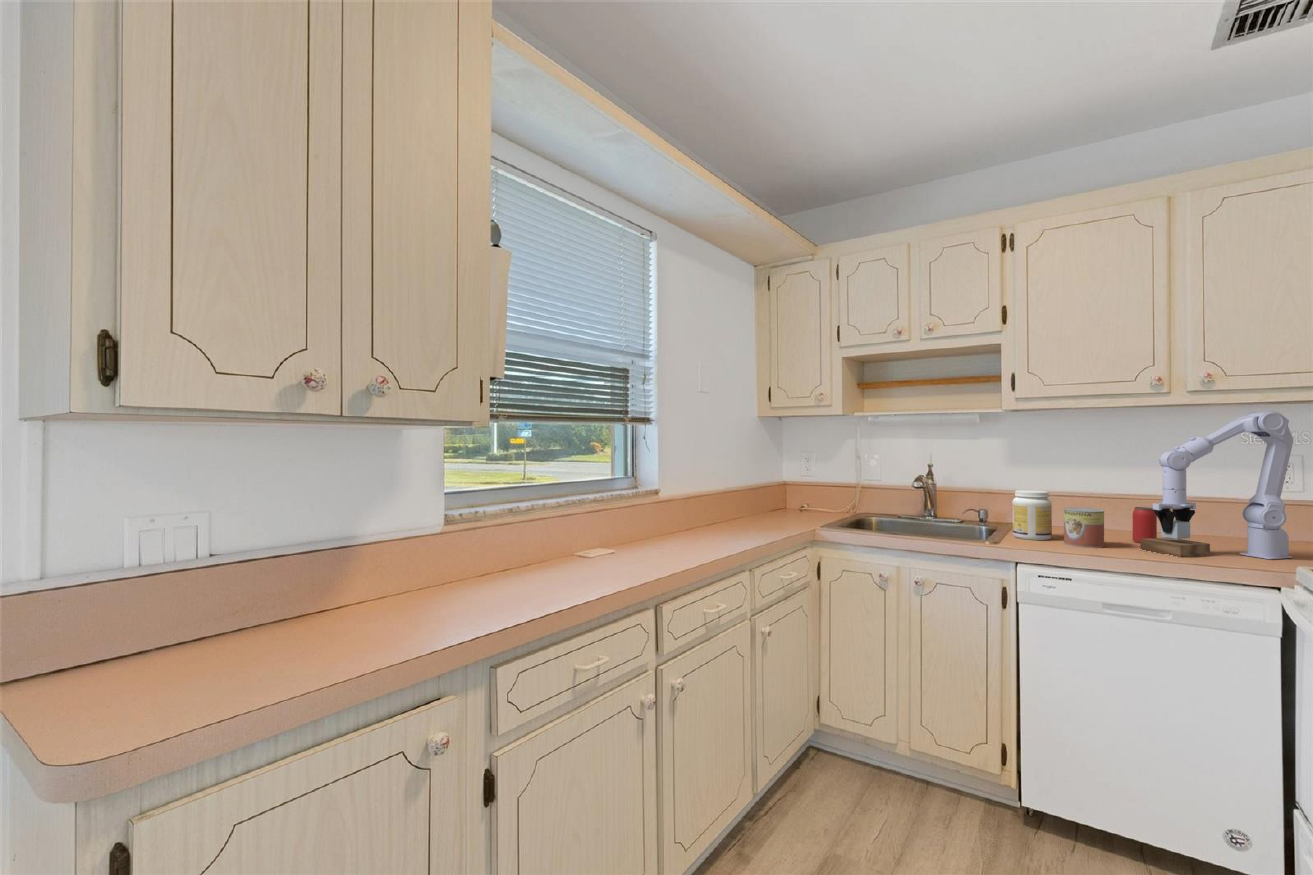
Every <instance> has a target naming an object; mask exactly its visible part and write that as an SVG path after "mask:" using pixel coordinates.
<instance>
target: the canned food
mask: <svg viewBox="0 0 1313 875" xmlns="http://www.w3.org/2000/svg"><path fill="white" fill-rule="evenodd" d="M1063 545H1065V546H1070V547H1076V548H1085V549H1102V548H1105V510H1104V509H1099V508H1089V507H1064V508H1063Z"/></svg>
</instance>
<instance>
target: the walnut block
mask: <svg viewBox="0 0 1313 875" xmlns="http://www.w3.org/2000/svg"><path fill="white" fill-rule="evenodd" d="M1139 544H1140V545H1139V548H1140V549H1142V550H1146V551H1145V552H1147V551H1151V552H1150V553H1153V552H1156V553H1155V554H1159V553H1160V554H1161V555H1164V554H1169V555H1168V556H1170V555H1173V556H1172V557H1176V556H1177V558H1190V557H1192V556H1194V557H1201V556H1200V555H1208V556H1211V544H1210V543H1207V542H1200V541H1194V540H1189V539H1175V538H1169V537H1157V538H1149V539H1140V543H1139ZM1140 549H1139V550H1140ZM1142 550H1141V551H1142Z"/></svg>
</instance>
